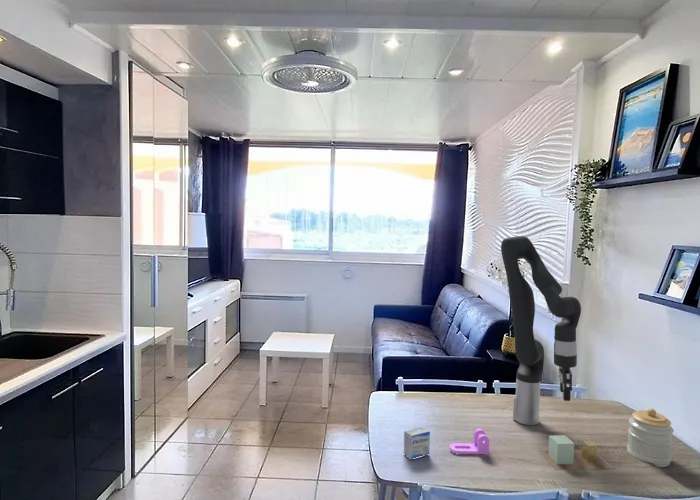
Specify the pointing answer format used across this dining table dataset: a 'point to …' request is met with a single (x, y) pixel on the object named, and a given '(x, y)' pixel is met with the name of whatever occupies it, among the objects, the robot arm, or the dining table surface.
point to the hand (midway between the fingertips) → (565, 396)
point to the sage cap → (561, 449)
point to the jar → (650, 437)
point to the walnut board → (578, 462)
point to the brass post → (589, 451)
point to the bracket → (473, 445)
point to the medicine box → (416, 442)
